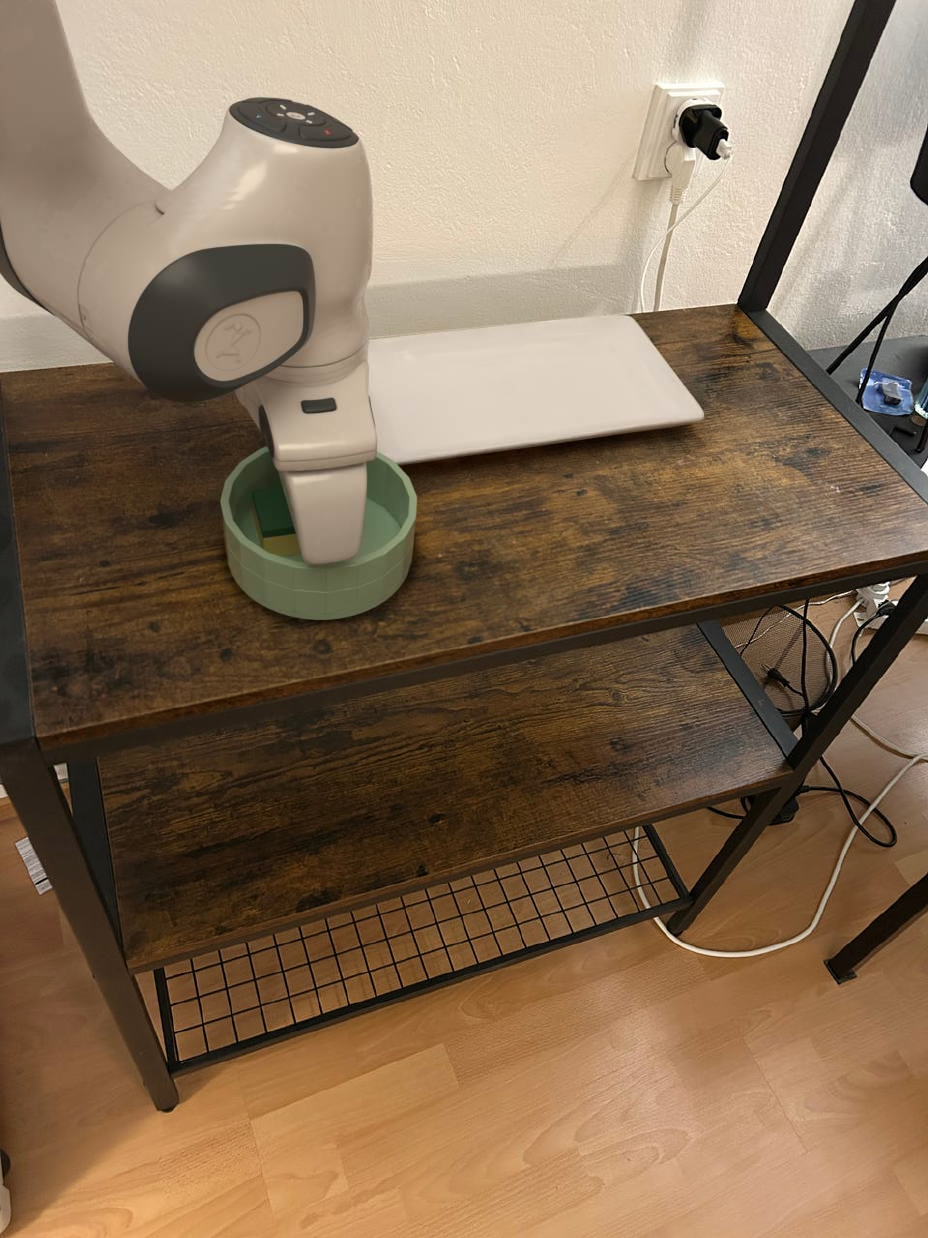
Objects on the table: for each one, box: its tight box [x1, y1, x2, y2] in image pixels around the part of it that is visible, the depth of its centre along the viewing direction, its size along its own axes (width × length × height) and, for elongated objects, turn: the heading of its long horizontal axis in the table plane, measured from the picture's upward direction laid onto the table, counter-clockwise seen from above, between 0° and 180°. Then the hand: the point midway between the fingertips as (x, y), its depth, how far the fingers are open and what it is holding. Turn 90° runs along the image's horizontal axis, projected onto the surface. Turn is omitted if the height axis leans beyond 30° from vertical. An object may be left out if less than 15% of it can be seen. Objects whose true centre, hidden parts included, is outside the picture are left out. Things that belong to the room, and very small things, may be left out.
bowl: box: [219, 446, 418, 621], centre depth 73 cm, size 14×14×6 cm
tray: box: [368, 314, 705, 466], centre depth 89 cm, size 17×32×4 cm, turn 110°
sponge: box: [252, 487, 301, 557], centre depth 74 cm, size 7×4×3 cm, turn 108°
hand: (303, 518), depth 74 cm, fingers closed on sponge, 4 cm apart
